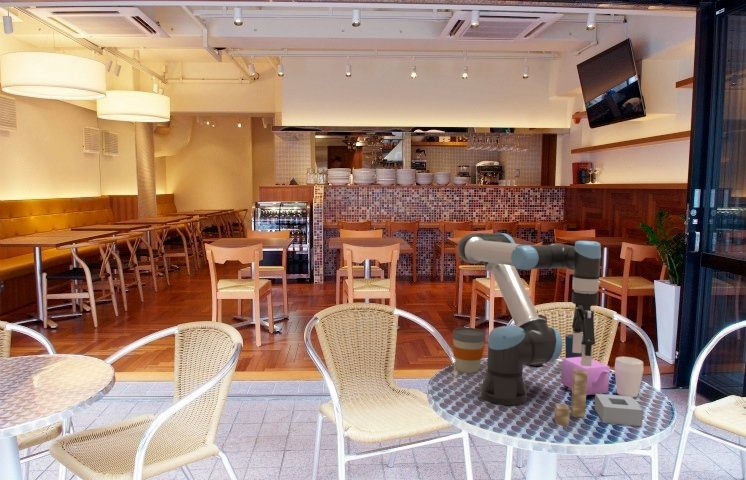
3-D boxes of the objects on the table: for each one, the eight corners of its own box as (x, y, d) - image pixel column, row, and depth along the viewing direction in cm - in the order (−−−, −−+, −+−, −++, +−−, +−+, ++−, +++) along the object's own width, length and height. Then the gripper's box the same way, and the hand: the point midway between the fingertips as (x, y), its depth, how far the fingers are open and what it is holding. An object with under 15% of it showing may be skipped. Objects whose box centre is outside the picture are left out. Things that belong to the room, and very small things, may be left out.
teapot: (556, 385, 195) (558, 351, 194) (579, 382, 198) (581, 349, 197) (595, 406, 176) (597, 369, 175) (620, 403, 180) (622, 366, 178)
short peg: (556, 424, 162) (557, 408, 161) (554, 419, 165) (555, 403, 165) (568, 425, 161) (569, 409, 161) (566, 420, 164) (567, 404, 164)
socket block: (603, 422, 163) (604, 406, 163) (594, 408, 174) (595, 393, 174) (641, 426, 162) (642, 410, 161) (630, 411, 172) (631, 396, 172)
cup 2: (644, 400, 183) (647, 365, 182) (616, 397, 184) (618, 363, 183) (637, 390, 192) (639, 357, 190) (610, 388, 193) (612, 355, 192)
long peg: (572, 416, 167) (575, 372, 166) (570, 412, 171) (573, 369, 170) (584, 417, 167) (587, 373, 166) (582, 413, 170) (584, 370, 169)
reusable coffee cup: (486, 366, 214) (488, 329, 213) (479, 376, 203) (481, 337, 201) (456, 362, 219) (457, 325, 218) (447, 371, 208) (448, 332, 206)
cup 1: (584, 377, 204) (587, 339, 202) (566, 377, 204) (569, 338, 202) (578, 371, 211) (580, 334, 209) (560, 371, 211) (562, 333, 209)
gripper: (609, 299, 153) (604, 372, 154) (588, 285, 177) (585, 348, 179) (581, 298, 154) (577, 370, 156) (565, 284, 178) (561, 346, 180)
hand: (581, 359), depth 167 cm, fingers open, 13 cm apart
